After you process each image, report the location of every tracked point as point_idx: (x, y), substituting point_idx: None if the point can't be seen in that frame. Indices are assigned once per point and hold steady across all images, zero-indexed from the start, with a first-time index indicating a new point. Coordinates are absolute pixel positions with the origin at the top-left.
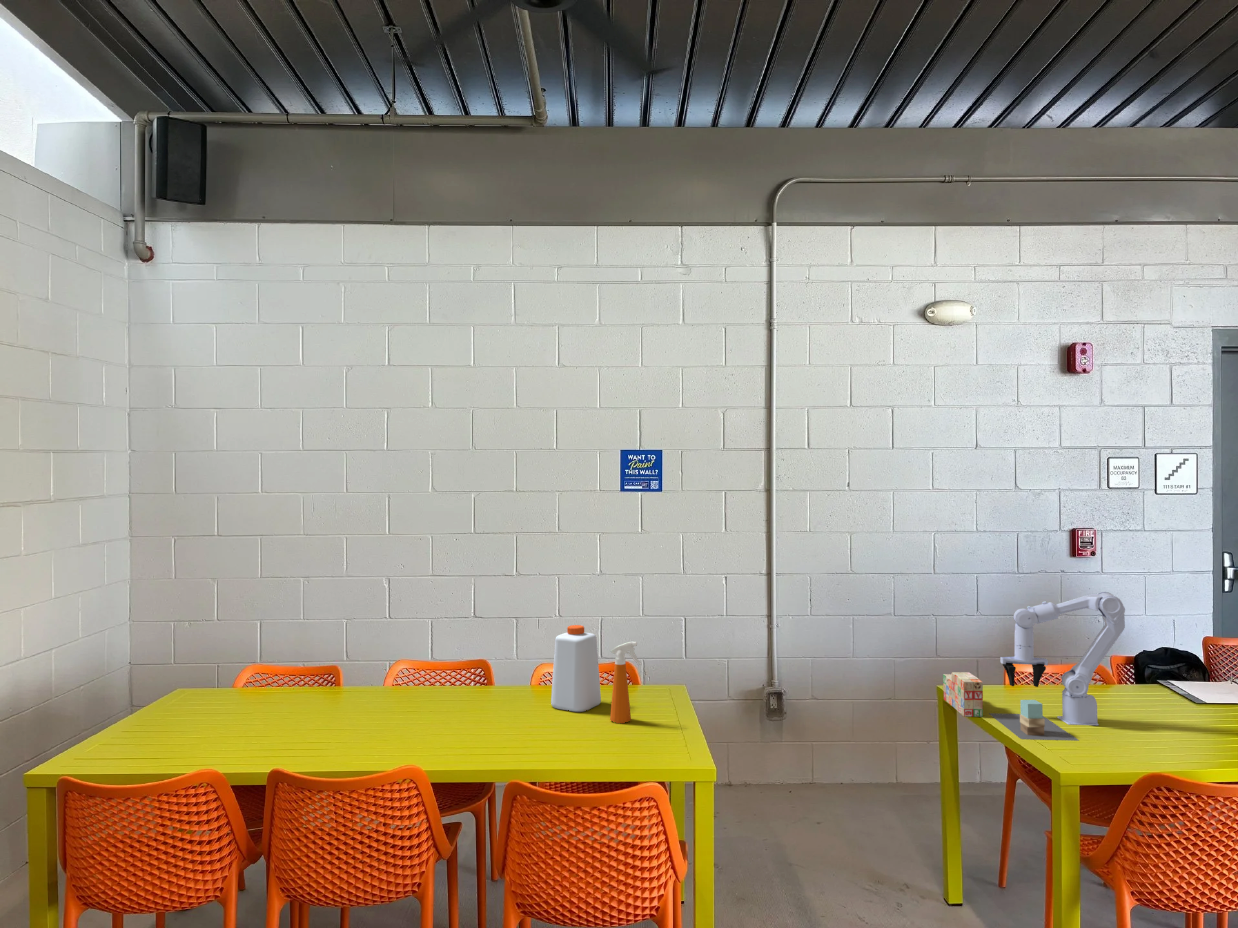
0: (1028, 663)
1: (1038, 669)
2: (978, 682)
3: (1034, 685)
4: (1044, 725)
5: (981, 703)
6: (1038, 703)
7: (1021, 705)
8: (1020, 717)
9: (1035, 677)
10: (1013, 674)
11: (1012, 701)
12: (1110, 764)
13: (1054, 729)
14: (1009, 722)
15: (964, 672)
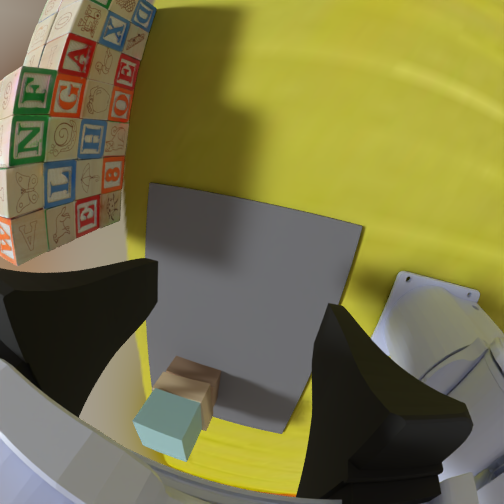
0: (208, 498)
1: (300, 489)
2: (10, 260)
3: (322, 321)
4: (211, 416)
5: (82, 234)
6: (176, 456)
7: (142, 411)
8: (157, 383)
9: (326, 376)
10: (97, 364)
11: (356, 24)
12: (250, 478)
13: (279, 377)
14: (173, 295)
15: (10, 76)
